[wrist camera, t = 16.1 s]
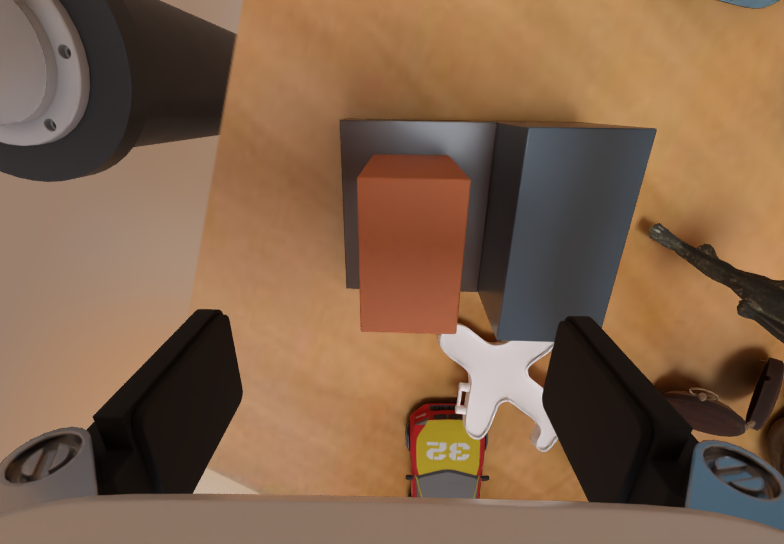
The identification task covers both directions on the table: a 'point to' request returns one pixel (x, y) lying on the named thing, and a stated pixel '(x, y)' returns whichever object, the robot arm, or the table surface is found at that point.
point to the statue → (733, 281)
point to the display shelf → (521, 210)
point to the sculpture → (777, 445)
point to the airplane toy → (498, 382)
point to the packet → (411, 242)
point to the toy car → (443, 454)
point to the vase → (752, 3)
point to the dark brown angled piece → (721, 417)
